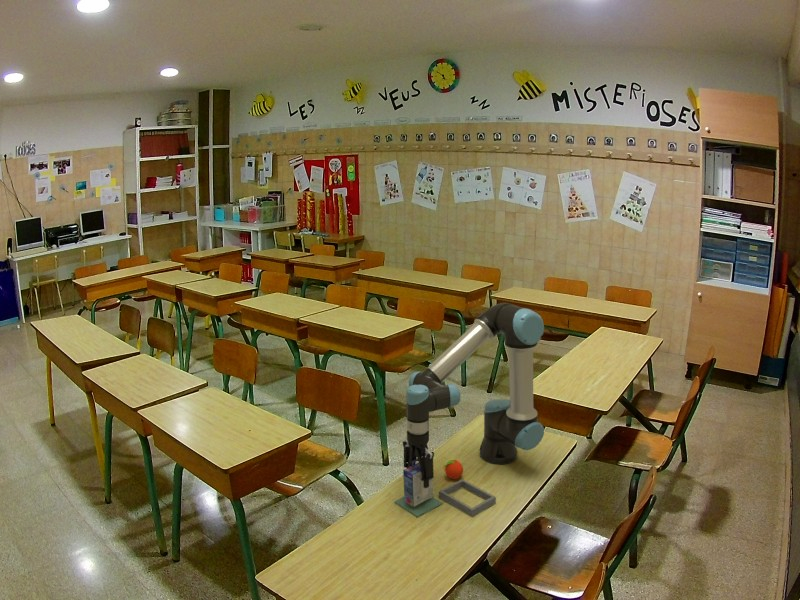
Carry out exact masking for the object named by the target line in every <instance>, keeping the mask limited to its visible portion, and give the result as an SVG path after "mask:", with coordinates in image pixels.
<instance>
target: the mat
mask: <svg viewBox="0 0 800 600" xmlns="http://www.w3.org/2000/svg"><path fill="white" fill-rule="evenodd" d="M394 504H395V505H397V506H398V507H401V508H402V509H404V510H405V511H407V512H408V513H409V514H411V515H412V516H414V517H415V518H419V517H421V516H423V515H426V514H427V513H429V512H431V511H432V510H434V509H436V508H438V507H440V506H443V504H444V502H442V501H441V500H439V499H437V498H436V497H434V496H433V497H431V498H429V499H427V500H425V501H423V502H422V503H420V504H418V505H416V506H414V507H413V506H411V505H410V504H408V503H407V502H405V500H404V496H402V497H400V498H399V499H396V500H394Z"/></svg>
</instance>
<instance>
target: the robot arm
mask: <svg viewBox="0 0 800 600" xmlns="http://www.w3.org/2000/svg"><path fill="white" fill-rule="evenodd" d="M544 331H545V325H544V321H543V319H542V316H541V315H540V314H538V313H537V311H536V312H535V311H534V310H532V309H530V308H525V307H522V306H519V305H516V304H513V303H510V302H500V303H497V304H495V305H492V306H491V307H489V308H487V309H486V310H485V311H483V312H482V313H480V314H479V315H478V316H477V317H476V318H475V319H474V321H473V325H472V326H470V327H469V328H468V329H467V330H466V331H465V332H464V333H462V334H461V336H459V338H458V339H456V340H455V341H454V342H453V343H452V344H451V345H450V346H449V347H448V348H447V349H445V351H444V352H443V353H441V354H440V355H439V356H438V357H437V358H436V359H435V360H434V361H433V362H432V363H431V364H430V365H429V366H428V367H427V368H425V369H424V370H423V371H415V372H413V373H412V374H411V375H410V376H409V379H408V388H407V389H406V395H405V402H406V405H405V406H406V407H405V408H406V430H407V431H406V440H404V441H402V447H403V467H404V469H406V468H408V467H410V466H412V462H411V461H413V460H415V459H418V461H416V462H415V463H414V464H416V463H417V462H419V463H420V468H421V473H422V479H421V496H422V497H423V496H425V495H427V494H428V487H429V480H430V479H432V478H433V479H434V478H435V477H434V474H435V473H434V456H435V453H434V451H430V450H429V447H428V442H429V441H430V413H432V412H435V411H440V410H444V409H448V408H449V409H450V408H451V407H454V406H457V405H459V404H460V402H461V391H460V389H459V387H458V386H457V385H456V384H454V383H451V384H448V383H447V384H446V385H445V384H442V383H443V382H444V381H445V380H446V379H447V378H448V377H449V376H450V375H452V373H454V371H456V369H458V368H459V367H460V366H461V365H462V364H463V363H464V362H465V361H467V359H468V358H469V357H471V356H472V354H473V353H475V352H476V351H477V350H478V349H479V348H480V347H481V346H483V345H484V343H485V342H487V340H493V339H494V337H496V336H497V335H501V334H502V335H504V346H505V347H506V348H507V349H508V355H509V356H508V358H509V359H508V364H509V366H508V368H509V371H508V373H509V375H508V376H509V399H505V398H499V399H491V400H489V401H487V402H486V403H485V405H484V411H483V413H484V415H483V418H484V419H483V423H484V424H483V426H484V427H483V428H484V429H483V438H482V441H481V443H480V447H479V453H478V455H479V457H480V459H482V460H483V461H485V462H487V463H490V464H492V465H493V464H495V465H507V464H511V463H513V462H515V461H516V460H517V458H518V449H517V448H520V449H521V450H524V451H530V450H532V449H535V448H536V447H538V446H539V444H540V443H541V442H542V440H543V439H544V435H545V434H544V433H545V428H544V426H543V425H542V423H541V422H539V421H538V414H539V413H538V411H537V410H536V408H535V407H534V349H535V348H537V346H538V343H539V342H540V340H542V336H543V335H544V333H545V332H544Z"/></svg>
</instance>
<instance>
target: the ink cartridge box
mask: <svg viewBox="0 0 800 600" xmlns="http://www.w3.org/2000/svg"><path fill="white" fill-rule="evenodd" d="M411 462H412V466H410V467H408V468H404V469H402V474H403V492H404V493H403V495H404V496H403V497H404V500H405V502H407V503H408V504H410V505H411V506H413V507H414V506H416V505H418V504H420V503H422V502H423V501H425V500H427V499H429V498H431V497H434V478H432V479H430V480H429V487H428V494H427V495H425V496H423V497H422V496H421V479H422V473H421V468H420V463H419V461H418V459H415V460H413V461H411ZM415 462H416V463H415ZM414 463H415V464H414Z"/></svg>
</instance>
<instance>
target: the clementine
mask: <svg viewBox="0 0 800 600" xmlns="http://www.w3.org/2000/svg"><path fill="white" fill-rule="evenodd" d="M442 470H444V472H445V475H446V476H447V478H449V479H452V480H457V479H459V478H460V477H461V476H462V475H463V473H464V466H463V464H462V462H460V461H458V459H450V460H448V461H447V463H445V464H444V466H443V469H442Z"/></svg>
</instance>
